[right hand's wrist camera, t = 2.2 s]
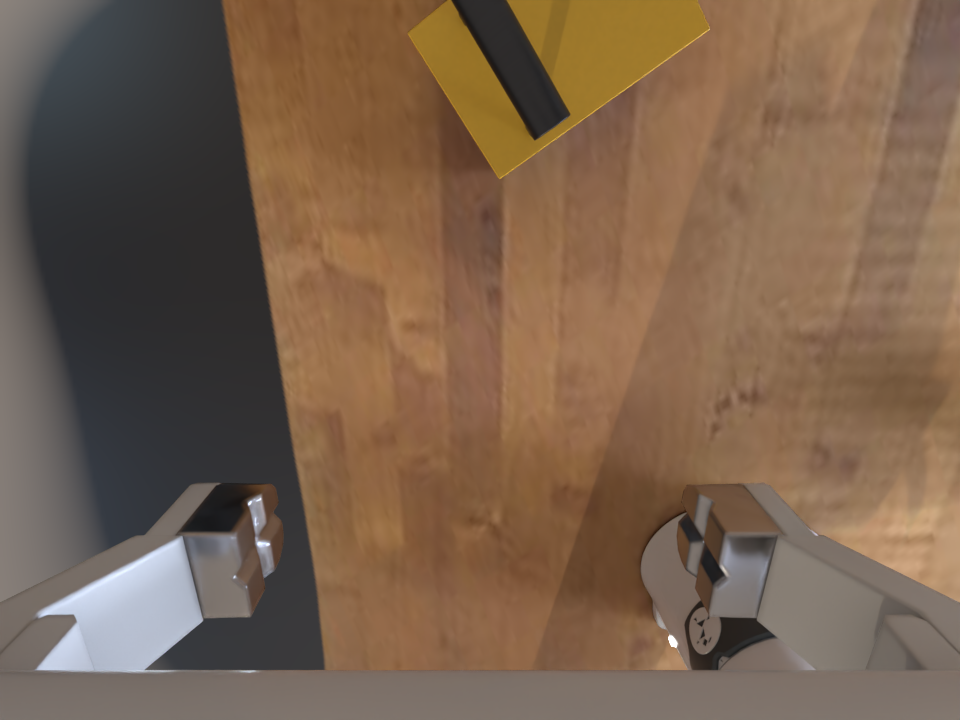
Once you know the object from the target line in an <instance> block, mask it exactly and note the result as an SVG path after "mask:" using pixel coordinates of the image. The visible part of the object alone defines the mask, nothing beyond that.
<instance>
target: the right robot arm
mask: <svg viewBox="0 0 960 720" xmlns="http://www.w3.org/2000/svg"><path fill="white" fill-rule="evenodd" d="M681 503H682V504H683V506H684V508H685V509H686V511H687V512H686V513H684V514H681V515H679V516H677V517H676V518H674V519H672V520H671V521H669V522H668V523H667V524H665V525H664V526H663V527H662V528H661V529H660V530H658V531H657V533H656V534H655V535H654V536H653V537H652V538H651V540H650V541H649V543H648V545H647V546H646V549H645V551H644V553H643V556H642V561H641V576H642V580H643V583H644V586H645V588H646V589H647V591H648V593H649V594H650V596H651V598H652V600H653V616H654V619H655V620H656V622H657V624H658V626H659V627H661V628H662V629H666V630H667V631H668V633H669V635H670V636H669V641H670V643H671V646H674V647H676V648H677V650H678V652H679V654H680V656H681V658H682V660H683V662H684V663H685V665H686V667H687V669H688V670H145V669H146V668H147V667H148V666H149V665H150V664H152V663H153V662H154V661H155V660H157V659H158V658H159V657H160V656H161V655H163V654H164V653H165V652H166V651H167V650H169V649H170V648H171V647H172V646H173V645H175V644H176V643H177V642H178V641H179V640H181V639H182V638H183V637H184V636H185V635H187V634H188V633H189V632H190V631H191V630H193V629H194V628H195V627H196V626H197V625H199V624H200V623H201V622H202V621H203V618H226V617H251V615H252V613H253V611H254V609H255V607H256V605H257V603H258V601H259V599H260V597H261V595H262V593H263V592H264V590H265V585H264V579H263V578H264V577H266V576H267V575H268V574H270V573H271V572H273V571H274V570H275V568H276V566H277V564H278V561H279V559H280V555H281V551H282V546H283V527H282V521H281V520H280V519H279V518H278V517H277V516H276V515H275V514H274V513H273V511H274V509H275V508H276V506H277V504H278V498H277V493H276V488H275V487H274V486H273V485H271V484H243V483H221V484H220V483H196V484H192V485H190V486H189V487H188V488H187V489H186V491H185V492H184V493H183V494H182V495H181V496H180V497H179V498H178V499H177V500H176V501H175V503H174V504H173V505H172V506H171V507H170V508H169V509H168V510H167V511H166V512H165V514H164V515H163V516H162V517H161V518H160V519H159V520H158V521H157V522H156V523H155V525H154V526H153V527H152V528H151V529H150V530H149V531H148V532H147V533H146V534H145V536H134V537H132V538H130V539H128V540H126V541H124V542H122V543H120V544H118V545H116V546H114V547H112V548H110V549H108V550H106V551H104V552H102V553H100V554H98V555H96V556H94V557H92V558H90V559H88V560H86V561H84V562H81V563H79V564H77V565H75V566H73V567H71V568H69V569H67V570H65V571H63V572H61V573H59V574H57V575H55V576H53V577H51V578H49V579H47V580H45V581H43V582H41V583H39V584H37V585H35V586H33V587H31V588H29V589H27V590H25V591H23V592H21V593H19V594H16V595H14V596H12V597H10V598H8V599H6V600H4V601H2V602H0V720H960V603H959V602H957V601H955V600H953V599H951V598H949V597H947V596H945V595H943V594H941V593H939V592H937V591H935V590H933V589H931V588H929V587H927V586H925V585H923V584H921V583H919V582H917V581H915V580H913V579H911V578H909V577H907V576H905V575H903V574H901V573H899V572H897V571H895V570H893V569H891V568H889V567H886V566H884V565H882V564H880V563H878V562H876V561H874V560H872V559H870V558H868V557H866V556H864V555H862V554H860V553H858V552H856V551H854V550H852V549H850V548H848V547H846V546H844V545H842V544H840V543H838V542H836V541H834V540H832V539H830V538H828V537H826V536H818V535H817V534H816V533H815V532H813V531H812V530H811V529H809V528H808V527H807V526H806V525H805V523H804V522H803V521H802V520H801V519H800V518H799V517H798V516H797V515H796V514H795V512H794V511H793V510H792V509H791V508H790V507H789V506H788V505H787V504H786V503H785V501H784V500H783V499H782V498H781V497H780V496H779V495H778V494H777V493H776V492H775V490H774V489H773V488H772V487H771V486H770V485H768V484H765V483H738V484H704V485H686V487H685V489H684V491H683V497H682V502H681Z"/></svg>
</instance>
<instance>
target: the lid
mask: <svg viewBox="0 0 960 720" xmlns="http://www.w3.org/2000/svg"><path fill="white" fill-rule="evenodd" d="M709 29H710V27H709V25H708V23H707V21H706V19H705V16H704V14H703V12H702V10H701V7H700V5H699V3H698V1H697V0H446V1H445V2H444V3H443V4H442V5H440V6H439V7H438V8H437V9H435V10H434V11H433V12H432V13H431V14H429V15H428V16H427V17H426V18H424V19H423V20H422V21H421V22H420V23H418V24H417V25H416V26H415V27H413V28H412V29H411V30H410V31H408V35H409V37H410V39H411V40H412V42H413V44H414V45H415V47H416V48H417V50H418V52H419V53H420V55H421V56H422V58H423V59H424V61H425V63H426V64H427V66H428V67H429V69H430V71H431V72H432V74H433V75H434V77H435V78H436V80H437V82H438V83H439V85H440V86H441V88H442V90H443V91H444V93H445V94H446V96H447V98H448V99H449V101H450V102H451V104H452V105H453V107H454V109H455V110H456V112H457V113H458V115H459V117H460V118H461V120H462V121H463V123H464V125H465V126H466V128H467V129H468V131H469V132H470V134H471V136H472V137H473V139H474V140H475V142H476V144H477V145H478V147H479V148H480V150H481V152H482V153H483V155H484V156H485V158H486V159H487V161H488V163H489V164H490V166H491V167H492V169H493V171H494V172H495V174H496V175H497V177H498V178H499V179H501V178H502V177H504V176H505V175H506V174H508V173H509V172H511V171H512V170H513V169H515V168H516V167H518V166H519V165H520V164H522V163H523V162H525V161H526V160H528V159H529V158H530V157H532V156H533V155H535V154H536V153H537V152H539V151H540V150H542V149H543V148H544V147H546V146H547V145H549V144H550V143H551V142H553V141H554V140H556V139H557V138H558V137H560V136H561V135H563V134H564V133H565V132H567V131H568V130H570V129H571V128H572V127H574V126H575V125H577V124H578V123H579V122H581V121H582V120H584V119H585V118H586V117H588V116H589V115H591V114H592V113H593V112H595V111H596V110H598V109H599V108H600V107H602V106H603V105H605V104H606V103H608V102H609V101H610V100H612V99H613V98H615V97H616V96H617V95H619V94H620V93H622V92H623V91H624V90H626V89H627V88H629V87H630V86H631V85H633V84H634V83H636V82H637V81H638V80H640V79H641V78H643V77H644V76H645V75H647V74H648V73H650V72H651V71H652V70H654V69H655V68H657V67H658V66H659V65H661V64H662V63H664V62H665V61H666V60H668V59H669V58H671V57H672V56H673V55H675V54H676V53H678V52H679V51H680V50H682V49H683V48H685V47H686V46H687V45H689V44H690V43H692V42H693V41H695V40H696V39H697V38H699V37H700V36H702V35H703V34H704V33H706V32H707V31H709Z"/></svg>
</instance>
